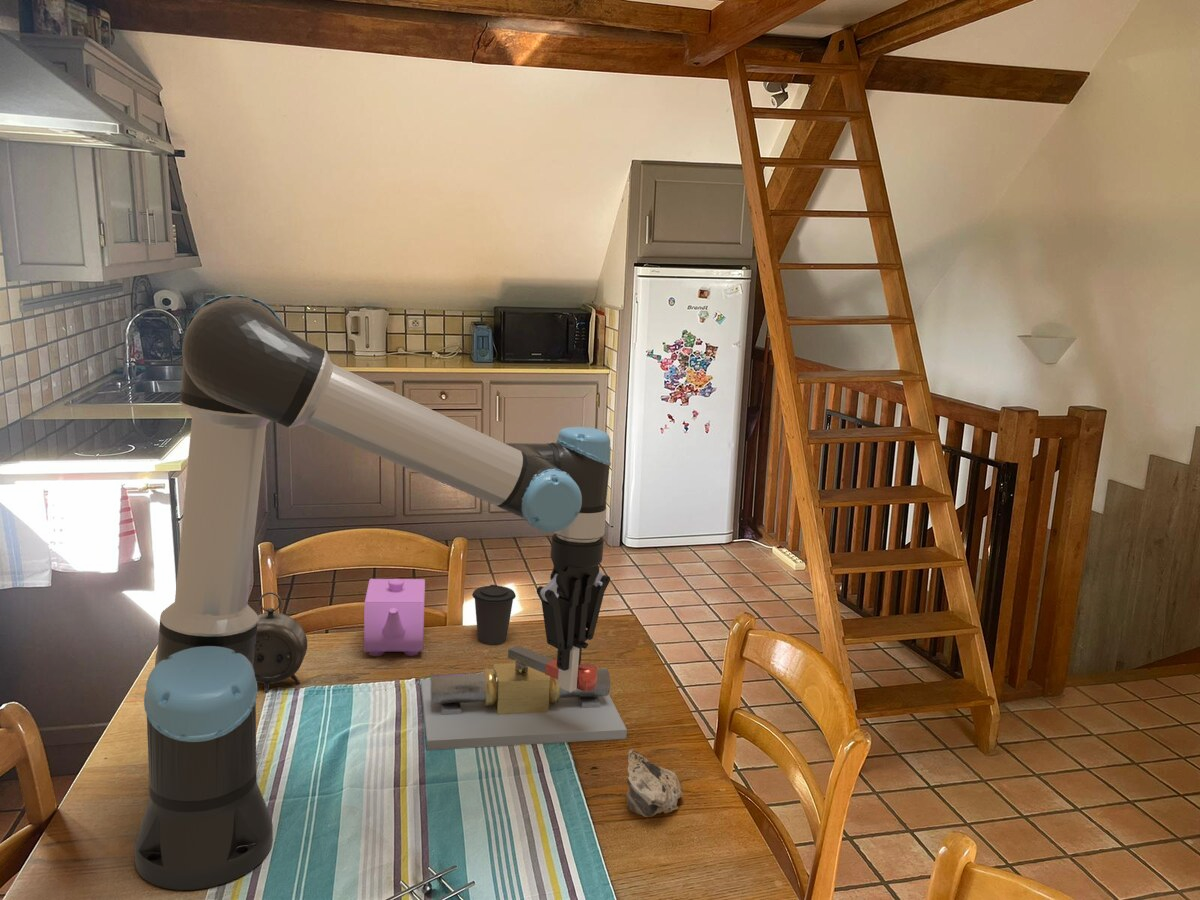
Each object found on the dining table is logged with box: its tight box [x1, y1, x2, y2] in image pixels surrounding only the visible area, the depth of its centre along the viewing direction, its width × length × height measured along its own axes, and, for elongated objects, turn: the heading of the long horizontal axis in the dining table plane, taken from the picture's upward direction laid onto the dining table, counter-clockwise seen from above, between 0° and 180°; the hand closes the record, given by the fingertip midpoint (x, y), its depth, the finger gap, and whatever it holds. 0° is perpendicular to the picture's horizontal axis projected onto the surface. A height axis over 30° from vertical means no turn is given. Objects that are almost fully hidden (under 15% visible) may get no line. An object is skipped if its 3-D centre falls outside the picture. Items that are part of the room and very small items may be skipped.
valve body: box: [430, 662, 611, 715], centre depth 151 cm, size 6×28×6 cm, turn 103°
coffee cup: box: [471, 584, 517, 646], centre depth 178 cm, size 8×8×10 cm
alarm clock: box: [253, 591, 308, 693], centre depth 154 cm, size 11×5×16 cm, turn 96°
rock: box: [626, 748, 684, 818], centre depth 129 cm, size 9×7×10 cm
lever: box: [507, 644, 598, 692], centre depth 146 cm, size 16×3×5 cm, turn 52°
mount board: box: [420, 678, 628, 751], centre depth 152 cm, size 20×30×2 cm, turn 103°
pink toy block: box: [363, 578, 426, 657], centre depth 171 cm, size 20×10×12 cm, turn 9°
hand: (567, 687), depth 142 cm, fingers closed
